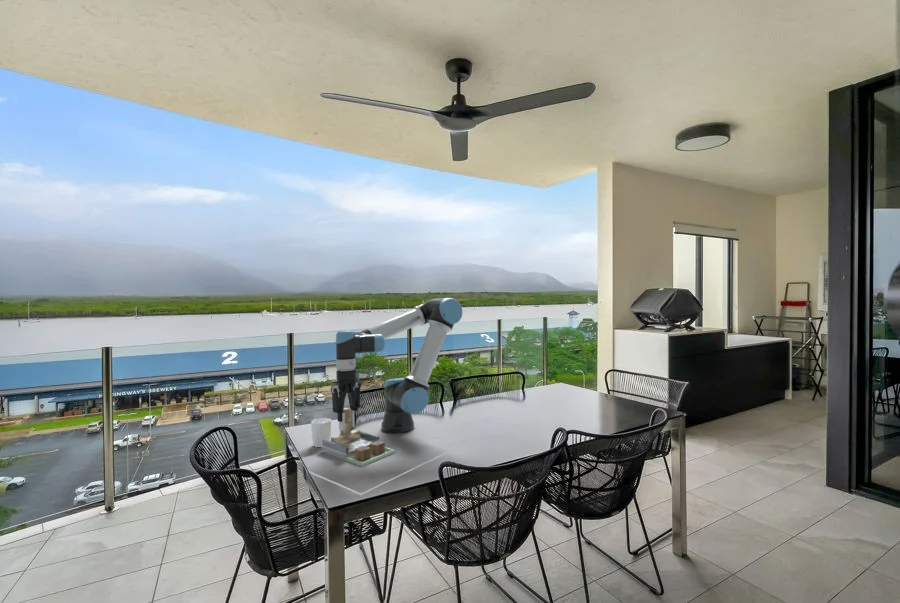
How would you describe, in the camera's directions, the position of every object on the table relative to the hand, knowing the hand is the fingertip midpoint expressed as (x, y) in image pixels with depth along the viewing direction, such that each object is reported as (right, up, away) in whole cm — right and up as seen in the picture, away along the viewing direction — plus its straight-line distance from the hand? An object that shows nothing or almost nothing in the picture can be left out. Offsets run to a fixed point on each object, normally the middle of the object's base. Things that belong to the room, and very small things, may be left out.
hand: (346, 427), depth 157 cm
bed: (+2, -9, -2) cm, 9 cm away
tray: (+12, -8, -9) cm, 17 cm away
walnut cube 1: (+7, -6, -11) cm, 14 cm away
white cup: (-12, -9, +6) cm, 16 cm away
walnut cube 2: (+12, -6, -5) cm, 14 cm away
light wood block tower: (0, -6, 0) cm, 6 cm away
